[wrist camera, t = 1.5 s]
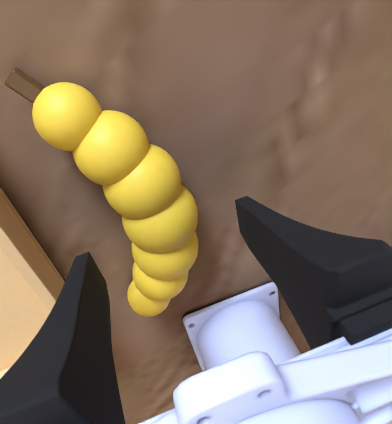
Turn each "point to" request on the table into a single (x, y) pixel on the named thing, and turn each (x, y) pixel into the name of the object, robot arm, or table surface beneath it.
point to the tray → (22, 285)
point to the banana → (124, 184)
